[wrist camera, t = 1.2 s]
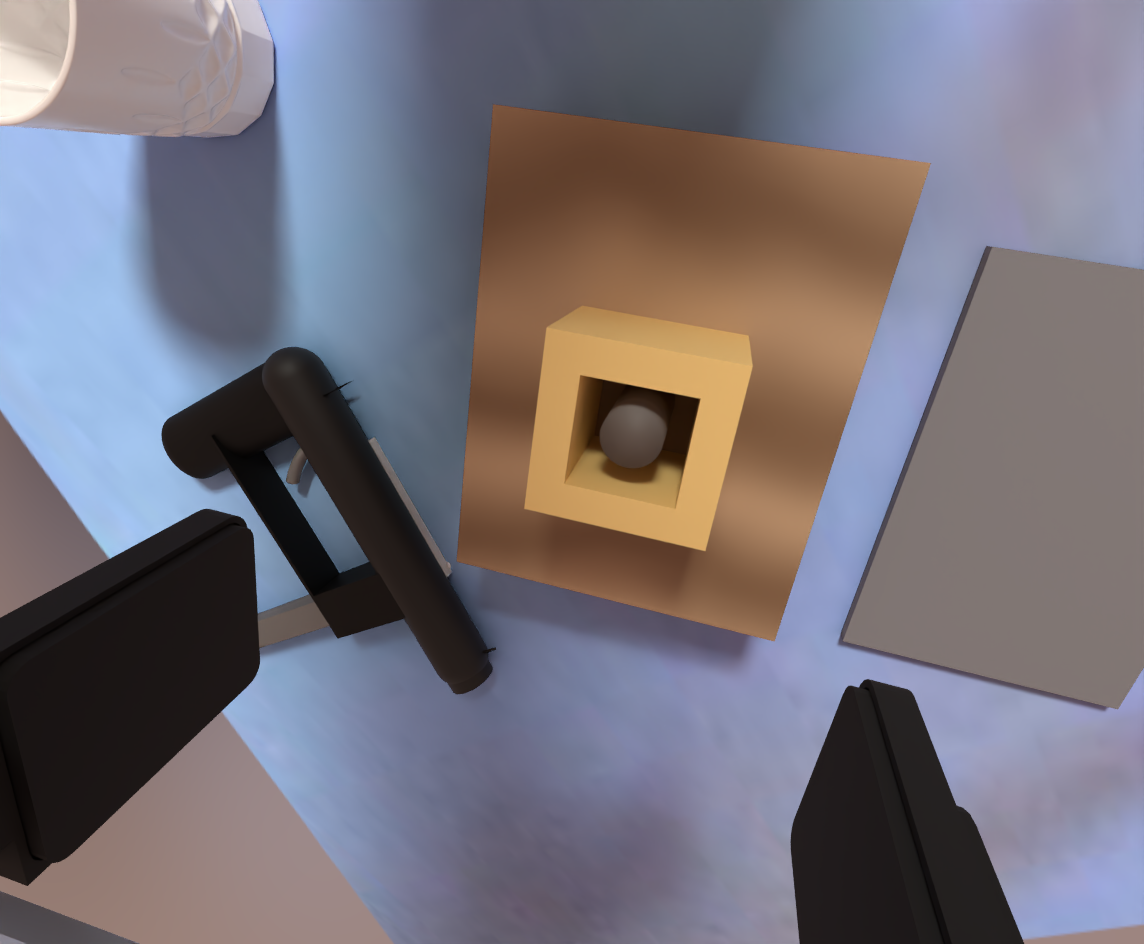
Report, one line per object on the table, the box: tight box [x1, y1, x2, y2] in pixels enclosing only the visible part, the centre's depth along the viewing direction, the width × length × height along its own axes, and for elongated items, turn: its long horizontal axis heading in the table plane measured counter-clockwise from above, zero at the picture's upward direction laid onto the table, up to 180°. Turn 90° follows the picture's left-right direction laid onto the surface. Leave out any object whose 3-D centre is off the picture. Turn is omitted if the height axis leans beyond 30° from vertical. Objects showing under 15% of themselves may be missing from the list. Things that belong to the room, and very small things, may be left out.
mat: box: [841, 246, 1144, 709], centre depth 27 cm, size 18×12×1 cm, turn 172°
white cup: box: [0, 0, 274, 138], centre depth 24 cm, size 8×8×10 cm
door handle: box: [162, 347, 496, 694], centre depth 36 cm, size 3×20×16 cm
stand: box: [457, 104, 931, 641], centre depth 24 cm, size 18×14×10 cm
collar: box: [524, 306, 753, 551], centre depth 22 cm, size 6×6×5 cm
